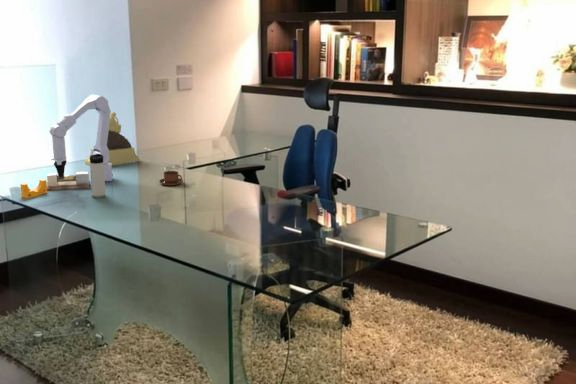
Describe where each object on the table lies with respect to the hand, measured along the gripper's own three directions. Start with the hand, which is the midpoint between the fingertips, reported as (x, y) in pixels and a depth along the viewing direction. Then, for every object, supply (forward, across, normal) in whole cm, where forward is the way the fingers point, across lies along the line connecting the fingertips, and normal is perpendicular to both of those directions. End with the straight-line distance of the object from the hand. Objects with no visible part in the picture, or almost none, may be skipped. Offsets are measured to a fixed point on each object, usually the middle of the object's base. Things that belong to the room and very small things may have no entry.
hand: (61, 175), depth 322 cm
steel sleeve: (+5, 0, +10) cm, 11 cm away
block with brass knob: (+3, 0, +2) cm, 3 cm away
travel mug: (+6, +22, +18) cm, 29 cm away
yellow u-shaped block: (+6, +14, -11) cm, 19 cm away
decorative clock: (+6, -51, +25) cm, 57 cm away
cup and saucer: (+6, +5, +54) cm, 54 cm away
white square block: (+5, 0, -4) cm, 7 cm away
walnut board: (+5, 0, +2) cm, 6 cm away
